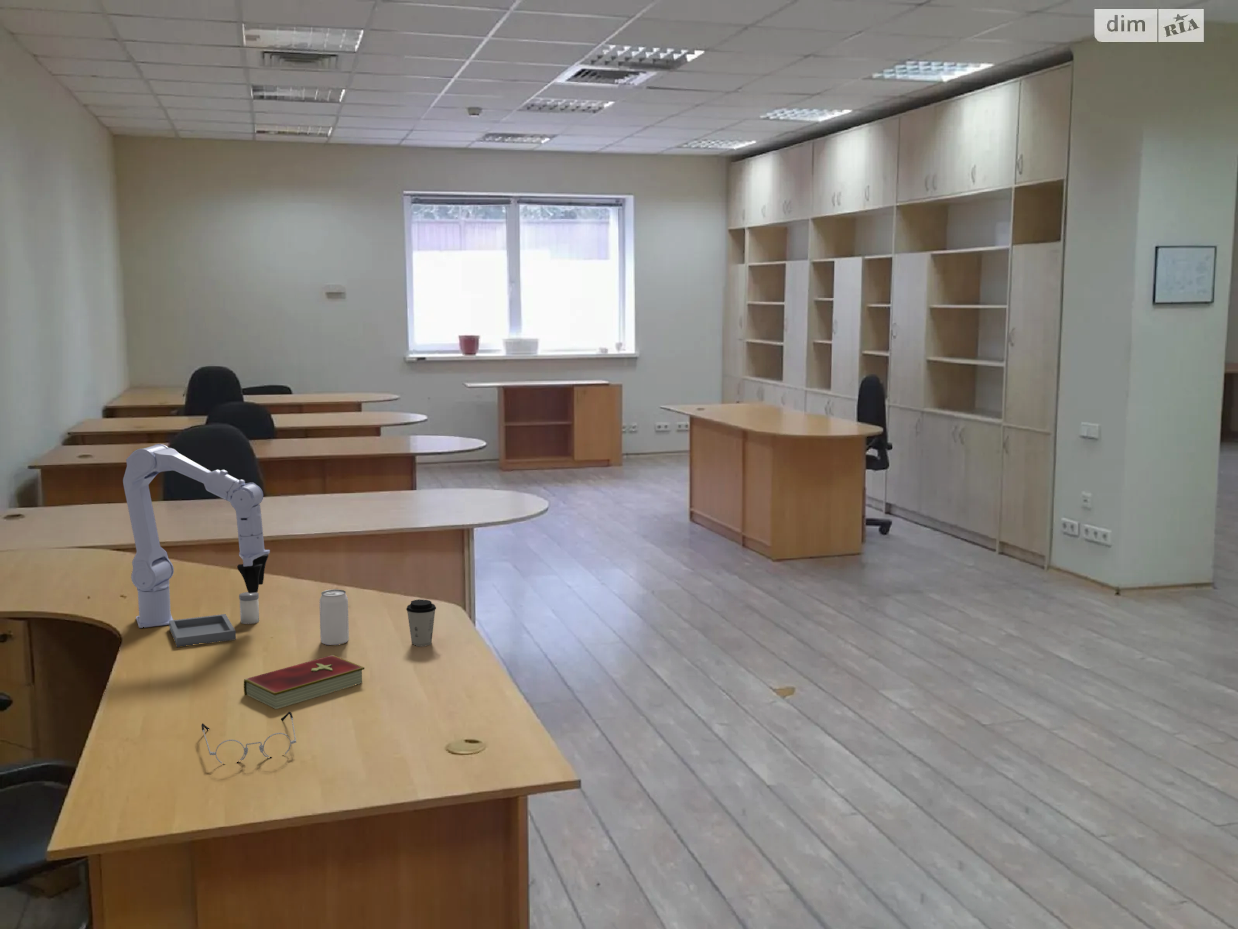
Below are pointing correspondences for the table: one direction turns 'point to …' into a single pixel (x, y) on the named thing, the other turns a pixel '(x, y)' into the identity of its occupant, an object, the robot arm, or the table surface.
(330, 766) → the table surface
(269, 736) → the eyeglasses
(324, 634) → the can
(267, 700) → the hardcover book
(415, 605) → the coffee cup
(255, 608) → the shaker
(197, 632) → the tray
